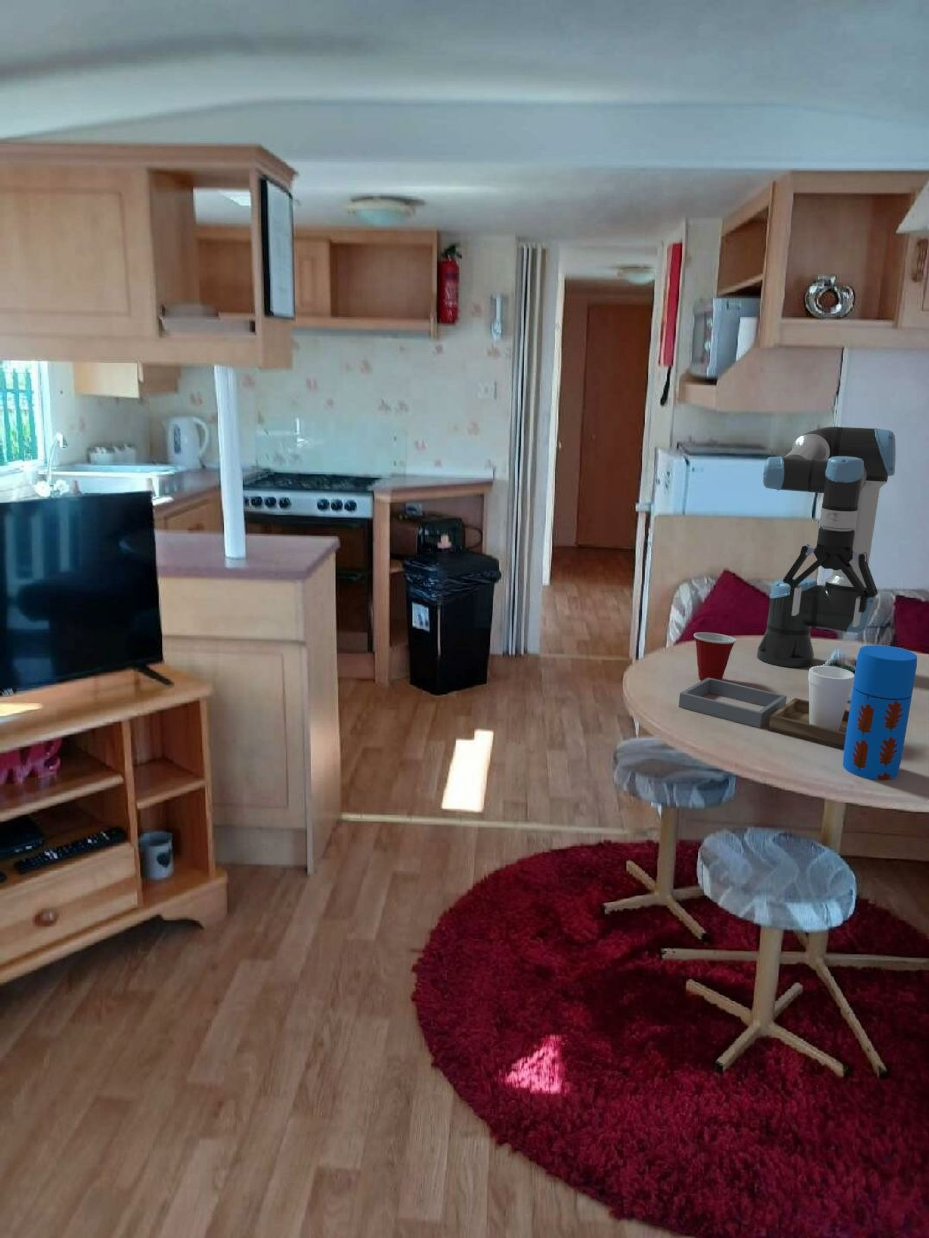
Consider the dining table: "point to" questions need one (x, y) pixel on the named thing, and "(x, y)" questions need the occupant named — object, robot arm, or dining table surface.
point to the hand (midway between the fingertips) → (824, 620)
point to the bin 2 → (806, 725)
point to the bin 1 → (728, 711)
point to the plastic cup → (712, 654)
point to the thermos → (879, 711)
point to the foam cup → (828, 695)
